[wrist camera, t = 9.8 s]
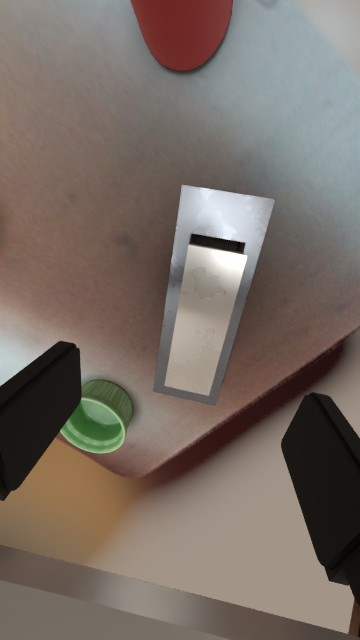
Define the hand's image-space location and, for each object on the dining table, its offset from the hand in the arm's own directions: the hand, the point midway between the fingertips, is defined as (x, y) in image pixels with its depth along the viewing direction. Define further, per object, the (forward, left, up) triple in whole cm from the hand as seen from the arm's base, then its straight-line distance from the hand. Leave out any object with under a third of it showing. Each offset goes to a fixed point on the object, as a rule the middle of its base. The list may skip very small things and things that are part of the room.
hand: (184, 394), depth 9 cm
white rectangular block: (+1, 0, -15) cm, 15 cm away
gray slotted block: (+1, 0, -15) cm, 15 cm away
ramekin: (+18, -10, -16) cm, 26 cm away
